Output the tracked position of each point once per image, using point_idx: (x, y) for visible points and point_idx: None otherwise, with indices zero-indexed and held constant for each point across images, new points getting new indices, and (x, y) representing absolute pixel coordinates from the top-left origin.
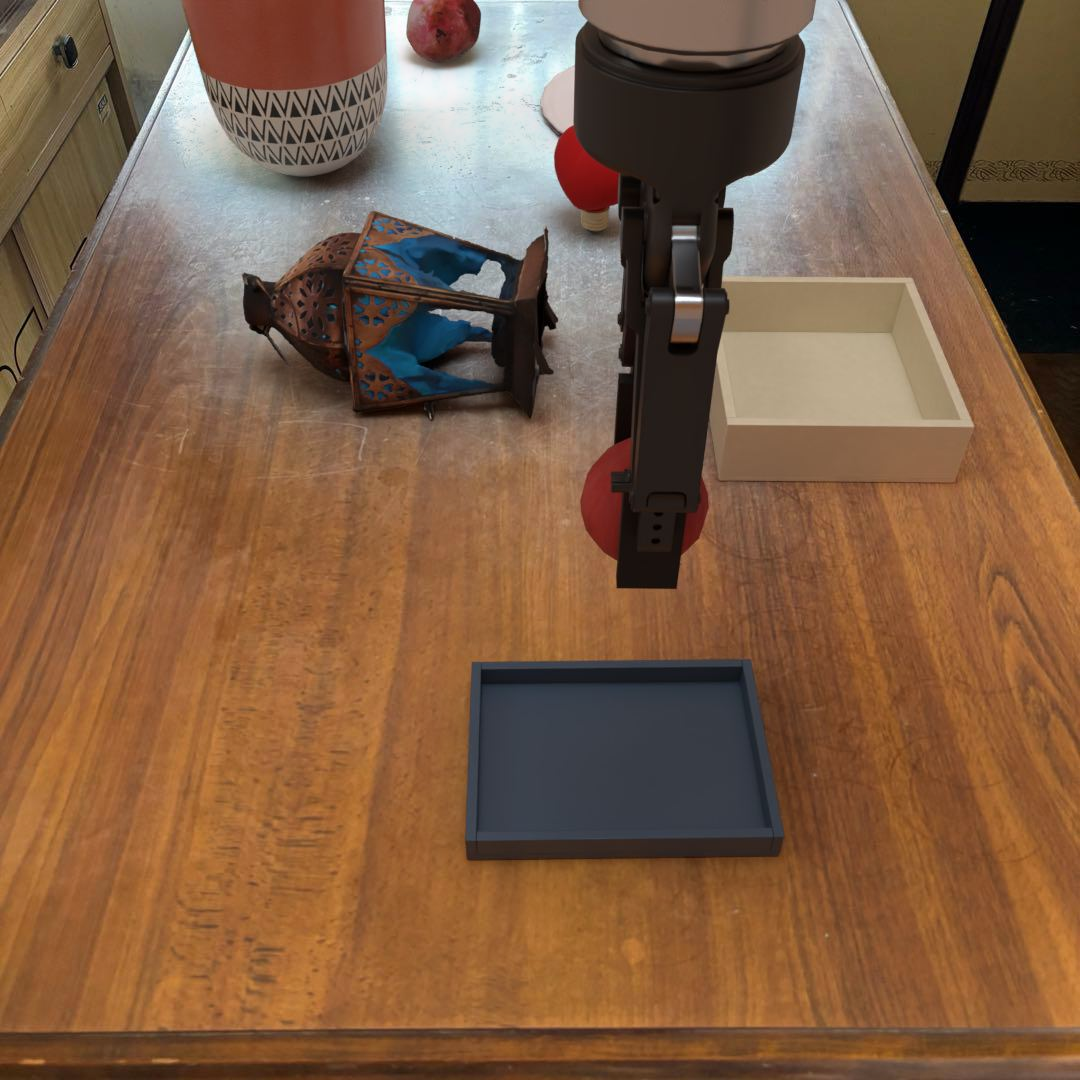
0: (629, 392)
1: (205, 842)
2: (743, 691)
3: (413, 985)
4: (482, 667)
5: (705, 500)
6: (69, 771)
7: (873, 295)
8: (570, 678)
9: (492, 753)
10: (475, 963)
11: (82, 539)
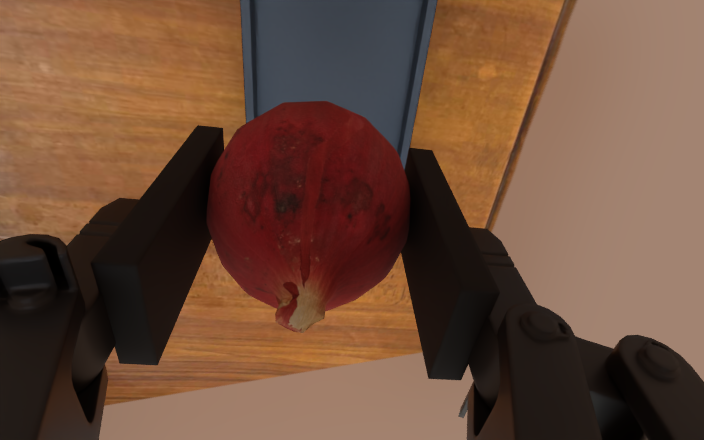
0: (162, 328)
1: (364, 297)
2: None
3: (470, 203)
4: None
5: (345, 133)
6: (314, 351)
7: None
8: (255, 93)
9: None
10: (466, 171)
11: (149, 370)
